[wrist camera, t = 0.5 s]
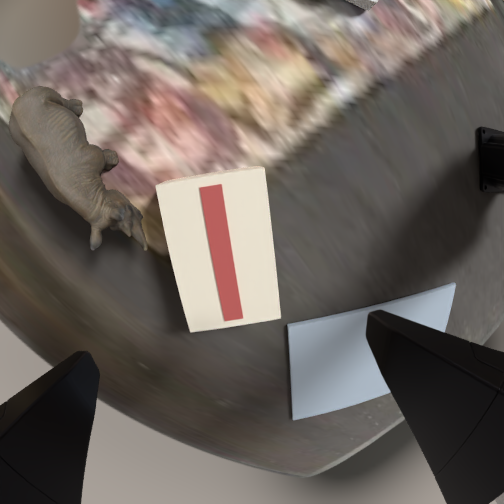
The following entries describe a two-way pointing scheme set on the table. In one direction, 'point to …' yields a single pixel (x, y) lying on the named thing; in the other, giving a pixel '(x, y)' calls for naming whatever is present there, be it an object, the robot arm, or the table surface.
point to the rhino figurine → (71, 162)
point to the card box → (221, 247)
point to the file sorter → (364, 3)
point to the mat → (350, 352)
